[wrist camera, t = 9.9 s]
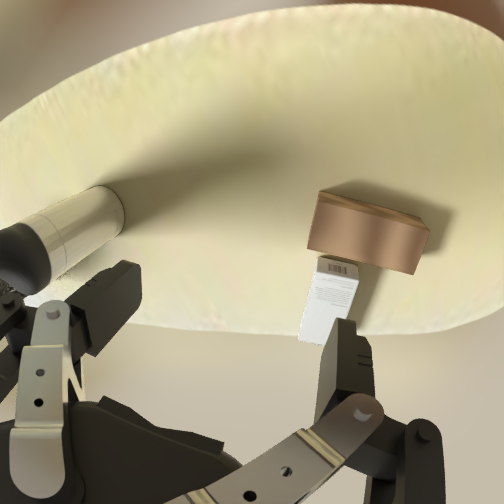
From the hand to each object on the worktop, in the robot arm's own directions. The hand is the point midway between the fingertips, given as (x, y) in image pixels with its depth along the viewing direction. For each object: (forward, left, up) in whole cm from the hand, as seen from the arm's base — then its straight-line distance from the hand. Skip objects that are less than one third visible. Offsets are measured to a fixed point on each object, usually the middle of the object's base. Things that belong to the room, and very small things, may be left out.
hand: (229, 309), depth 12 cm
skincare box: (+8, -11, -28) cm, 31 cm away
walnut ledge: (+10, -5, -30) cm, 32 cm away
